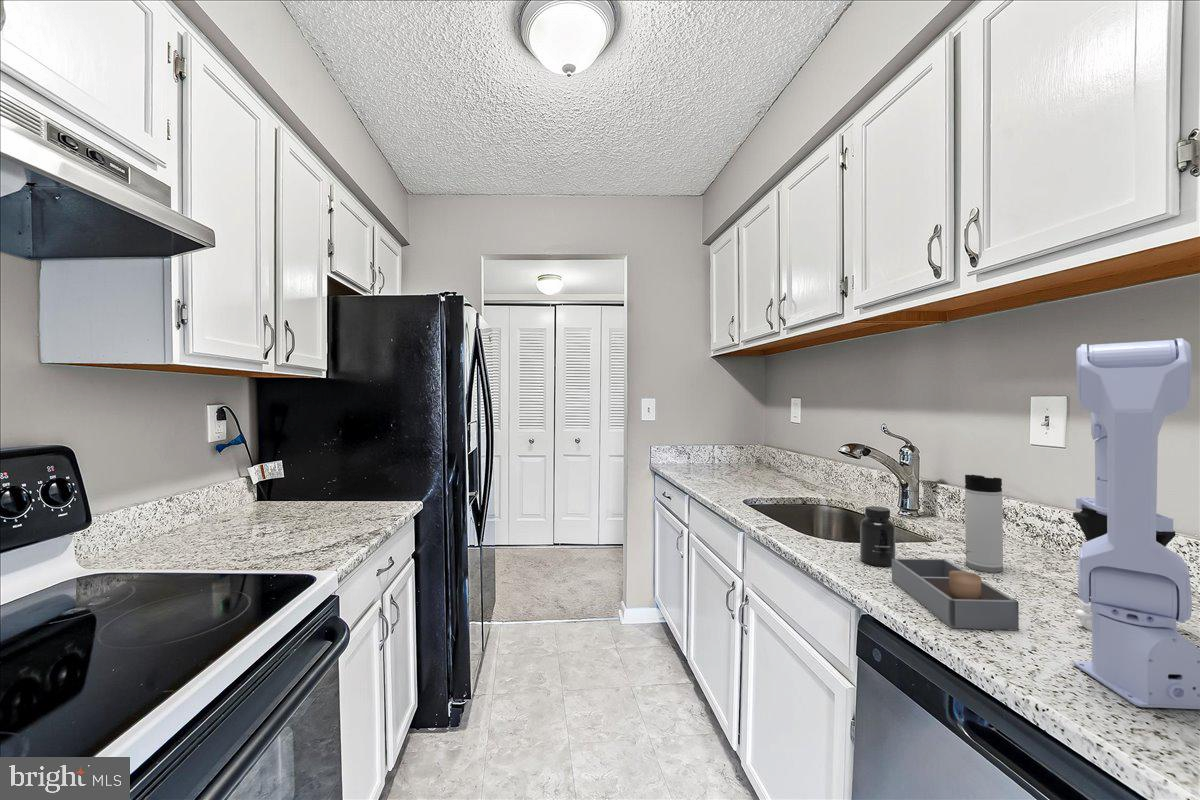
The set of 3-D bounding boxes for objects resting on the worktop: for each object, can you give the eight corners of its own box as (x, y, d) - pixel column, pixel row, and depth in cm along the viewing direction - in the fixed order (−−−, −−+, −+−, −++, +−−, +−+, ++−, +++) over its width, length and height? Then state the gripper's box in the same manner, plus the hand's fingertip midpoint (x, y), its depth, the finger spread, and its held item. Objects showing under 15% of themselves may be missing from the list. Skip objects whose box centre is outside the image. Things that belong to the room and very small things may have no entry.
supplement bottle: (881, 569, 106) (880, 513, 106) (853, 559, 112) (852, 507, 112) (902, 564, 109) (902, 509, 108) (874, 555, 115) (873, 503, 115)
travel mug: (959, 566, 106) (957, 473, 106) (974, 560, 110) (973, 470, 109) (993, 575, 101) (992, 477, 100) (1008, 569, 104) (1007, 474, 104)
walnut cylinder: (986, 617, 82) (987, 581, 82) (957, 615, 82) (957, 579, 82) (971, 605, 86) (971, 571, 86) (943, 603, 87) (943, 569, 87)
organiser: (1018, 630, 79) (1018, 601, 79) (951, 628, 80) (950, 600, 80) (945, 581, 99) (944, 559, 98) (891, 580, 100) (891, 558, 100)
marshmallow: (1116, 629, 78) (1113, 601, 78) (1122, 633, 77) (1118, 605, 77) (1075, 627, 80) (1072, 599, 80) (1080, 631, 79) (1077, 603, 79)
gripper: (1196, 488, 73) (1197, 581, 73) (1106, 472, 87) (1107, 549, 87) (1142, 489, 73) (1143, 580, 74) (1062, 472, 88) (1063, 549, 88)
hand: (1120, 563), depth 81 cm, fingers open, 7 cm apart
